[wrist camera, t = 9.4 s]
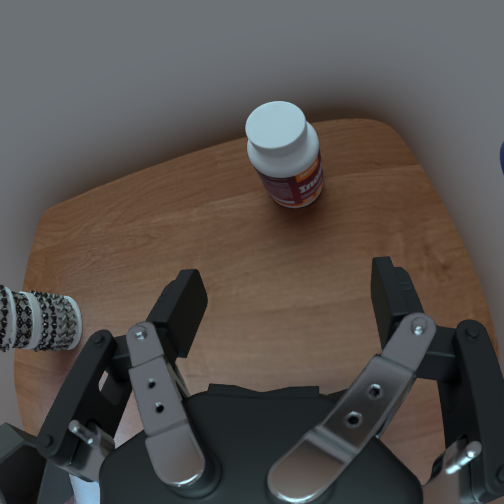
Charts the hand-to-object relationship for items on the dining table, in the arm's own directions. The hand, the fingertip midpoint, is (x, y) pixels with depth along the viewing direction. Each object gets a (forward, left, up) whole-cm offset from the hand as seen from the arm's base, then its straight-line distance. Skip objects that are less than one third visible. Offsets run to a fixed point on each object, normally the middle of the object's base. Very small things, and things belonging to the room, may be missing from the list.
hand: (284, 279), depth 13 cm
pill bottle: (-2, -12, -16) cm, 20 cm away
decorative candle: (+36, -6, -16) cm, 39 cm away
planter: (+54, +20, -16) cm, 60 cm away
